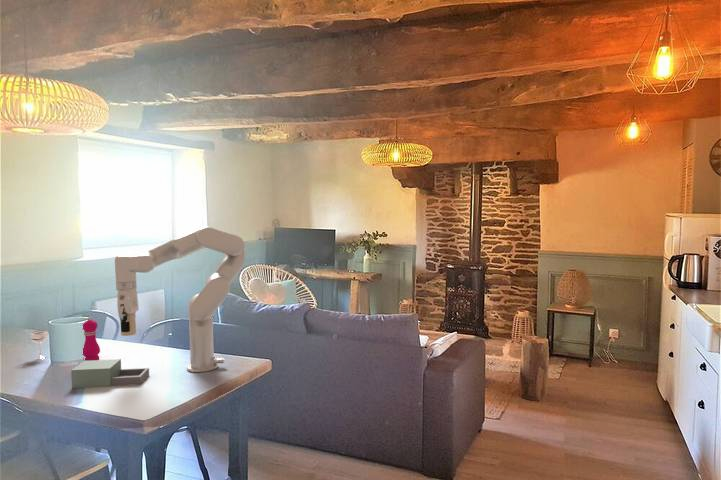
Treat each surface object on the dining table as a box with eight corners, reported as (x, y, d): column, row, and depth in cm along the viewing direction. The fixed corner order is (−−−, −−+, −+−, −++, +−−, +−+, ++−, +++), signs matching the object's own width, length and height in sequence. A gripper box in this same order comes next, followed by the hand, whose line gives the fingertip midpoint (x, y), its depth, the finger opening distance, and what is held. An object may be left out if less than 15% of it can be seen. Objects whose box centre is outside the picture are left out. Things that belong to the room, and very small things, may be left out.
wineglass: (51, 356, 236) (50, 331, 236) (36, 360, 231) (34, 334, 230) (44, 354, 240) (43, 329, 239) (28, 358, 234) (27, 332, 234)
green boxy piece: (149, 374, 209) (148, 357, 209) (140, 384, 197) (139, 367, 197) (85, 377, 206) (84, 360, 206) (72, 388, 194) (71, 370, 194)
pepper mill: (92, 363, 225) (90, 318, 224) (78, 362, 226) (76, 318, 225) (104, 358, 232) (102, 315, 231) (90, 358, 234) (88, 315, 232)
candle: (139, 333, 208) (137, 309, 207) (127, 336, 203) (126, 311, 202) (129, 332, 210) (128, 308, 210) (118, 335, 206) (116, 310, 205)
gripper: (127, 288, 197) (130, 334, 198) (143, 282, 214) (145, 324, 215) (107, 289, 197) (110, 335, 198) (125, 282, 214) (127, 325, 215)
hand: (128, 329), depth 207 cm, fingers closed on candle, 5 cm apart
